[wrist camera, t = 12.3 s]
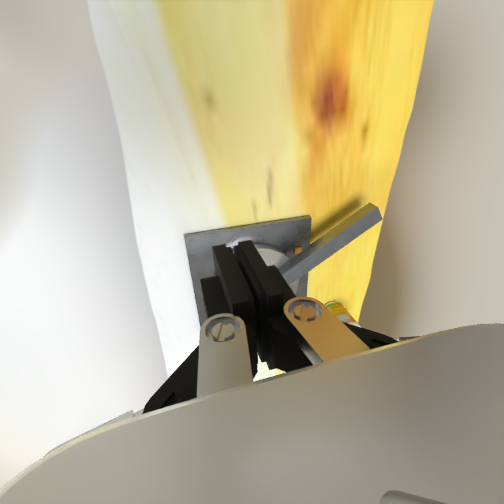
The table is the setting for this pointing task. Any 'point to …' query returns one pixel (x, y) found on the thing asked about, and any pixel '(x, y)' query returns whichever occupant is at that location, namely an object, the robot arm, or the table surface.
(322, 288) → the table surface
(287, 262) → the grey disc with handle
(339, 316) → the supplement bottle
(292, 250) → the plate
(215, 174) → the table surface
